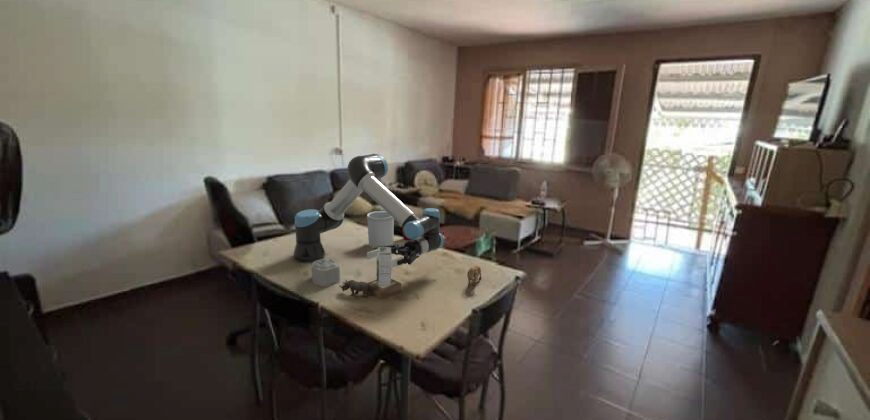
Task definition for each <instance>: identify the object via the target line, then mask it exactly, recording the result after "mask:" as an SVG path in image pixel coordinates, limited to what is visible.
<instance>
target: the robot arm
mask: <svg viewBox="0 0 870 420" xmlns="http://www.w3.org/2000/svg"><path fill="white" fill-rule="evenodd" d="M346 169H347V171H346V172H347V175H348V178H349V180H348V181H347V182H346V183H345V185H343V187H342V188H341V189H340V190H339V191H338V192H337V194H336V195H335V196H334V197H333V199H332V200H331V201H329V202H328V201H327V202H326V203H325V204H324V205H323V206H322V208H320V209H319V210H318V209H315V208H314V209H311V208H310V209H304V210H301V211H299V212H297V213H296V214H295V216H294V228H295V229H294V231H295V240H296V242H295V243H296V244H295V246H294V251H293V254H292V255H293V260H295V261H296V262H299V263H300V262H302V263H309V262H311V263H313V262H314V261H317V260H320V259H323V258H325V256H326V251H325V248H324V246H323V244H322V242H321V241H322V240H321V234H323V233H326V232H329V231H331V230H335V229H337V228H339V227H340V226H341V225H342V224H343V222H344V217H345V212H346V211H347V210H348V209H349V208H350V207H351V206H352V204H353V203H354V202H355V201H356V200H357V198H359V196H360V195H361V194H362V193H363V192H364V193H366V194H367V195H368V196H369V197H370V198H371V199H373V201H375V202H376V203H377V204H378V205H379V206H380V207H381V208H382V210H384V211H386V212H387V213H388V214H390V215H391V216H392V217H393V218H394V221H396V222H397V223H398V224H399V225H400V226H402V227H403V231H404V234H405V236H406V237H407V238H409V239H413V240H406V242H405V243H404V244H403V245H399V243H396V244H393V245H388V246H378V247H391V255H395V256H397V255H398V256H400V257H398V258H394V259H391V261H389V268H391V269H393V268H395V267H397V266H401V265H403V264H404V265H406V264H407V265H409V266H410V265H412V264H413V263H414V262H415V260H416V259H418V258H420V256H422V255H424V254H428V253H430V252H432V251H436V250H437V249H440V248H441V247H443V246H444V243H445V239H444V235H443V234H442V233H440V225H441V223H440V220H441V217H440V216H441V215H440V210H439V209H438V208H435V207H433V208H432V207H428V208H424V209H423V211H422V216H420V217H419V216H418V215H416V214H415V213H414V212H413V211H412V210H411V209H410V208H409V207H408V206H407V205H405V204H404V203H403V202H402V201H401V200H400V199H399V198H398V197H397V196H396V195H395V194H394V193H393V192H392V191H390V190H389V188H387V187H386V186H385V185H384V184H383V183H382V182H381V181H380V180H379V179H382V178H384V177H385V176H386V175H388V171H389V164H388V161H387V160H386V158H385V157H384V156H383V155H381V154H379V153H371V154H366V155H365V154H364V155H358V156H354V157H353V158H351V159H350V161H349V162H348V164H347V168H346ZM402 227H401V228H402ZM378 247H377V248H376V249H374V250H371V251H367V252H366V258H367V260H370V259H373V258H377V249H378Z"/></svg>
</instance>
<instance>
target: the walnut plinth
mask: <svg viewBox="0 0 870 420" xmlns="http://www.w3.org/2000/svg"><path fill="white" fill-rule="evenodd" d="M367 283H368V284H369V288H370V292H371V296H374V297H376V298H379V299H380V300H385V299H388V298H391V297H393V296H395V295H397V294H400V293H402V282H399V281H397V280H395V279H393V278H391V285H377V278H376V279H374V280H372V281H369V282H367Z"/></svg>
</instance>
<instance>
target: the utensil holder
mask: <svg viewBox="0 0 870 420" xmlns="http://www.w3.org/2000/svg"><path fill="white" fill-rule="evenodd" d="M366 219H367V236H368V245H369V247H370V248H372V249H373V248H374V249H377V247H378V246H388V245H394V229H395V228H394V227H395V226H394V223H395V219H394V218H393V217H392V216H391V215H390V214H388V213H387V212H386V211H385V210H384V211H383V210H379V211H372V212H371V211H370V212H368V213H367V214H366Z"/></svg>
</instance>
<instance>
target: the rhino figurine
mask: <svg viewBox="0 0 870 420" xmlns="http://www.w3.org/2000/svg"><path fill="white" fill-rule="evenodd" d="M342 283H343V284H342V285H341V284H339V287H340V289H342V290H341V291H343V292H345V291H348V290H350V292H351V293H350V296H355V295H356V294H359V293H360V292H361V293H362V295H361V298H363V299H364V298H366V297H371V296H372V294H371V292H370V288H369V284H368V283H369V282H365V281H356V280H354V279H350V280H347V279H345V282H344V281H342ZM367 293H368V294H367ZM366 295H367V296H366Z"/></svg>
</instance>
